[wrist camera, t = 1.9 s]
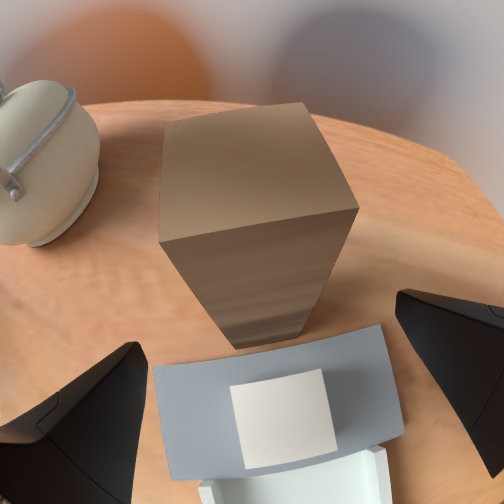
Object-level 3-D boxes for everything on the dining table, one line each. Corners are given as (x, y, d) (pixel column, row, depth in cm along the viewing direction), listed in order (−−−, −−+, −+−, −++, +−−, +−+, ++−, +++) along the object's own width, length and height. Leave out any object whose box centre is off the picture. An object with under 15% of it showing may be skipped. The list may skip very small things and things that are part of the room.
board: (396, 431, 15) (405, 433, 14) (178, 474, 14) (171, 480, 13) (372, 328, 19) (379, 323, 18) (160, 368, 18) (152, 366, 17)
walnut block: (297, 337, 19) (359, 207, 6) (235, 349, 19) (158, 242, 6) (284, 280, 21) (302, 102, 8) (226, 291, 21) (165, 123, 8)
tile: (326, 441, 14) (337, 450, 11) (249, 457, 14) (245, 469, 11) (312, 371, 16) (320, 368, 14) (235, 386, 16) (229, 386, 14)
